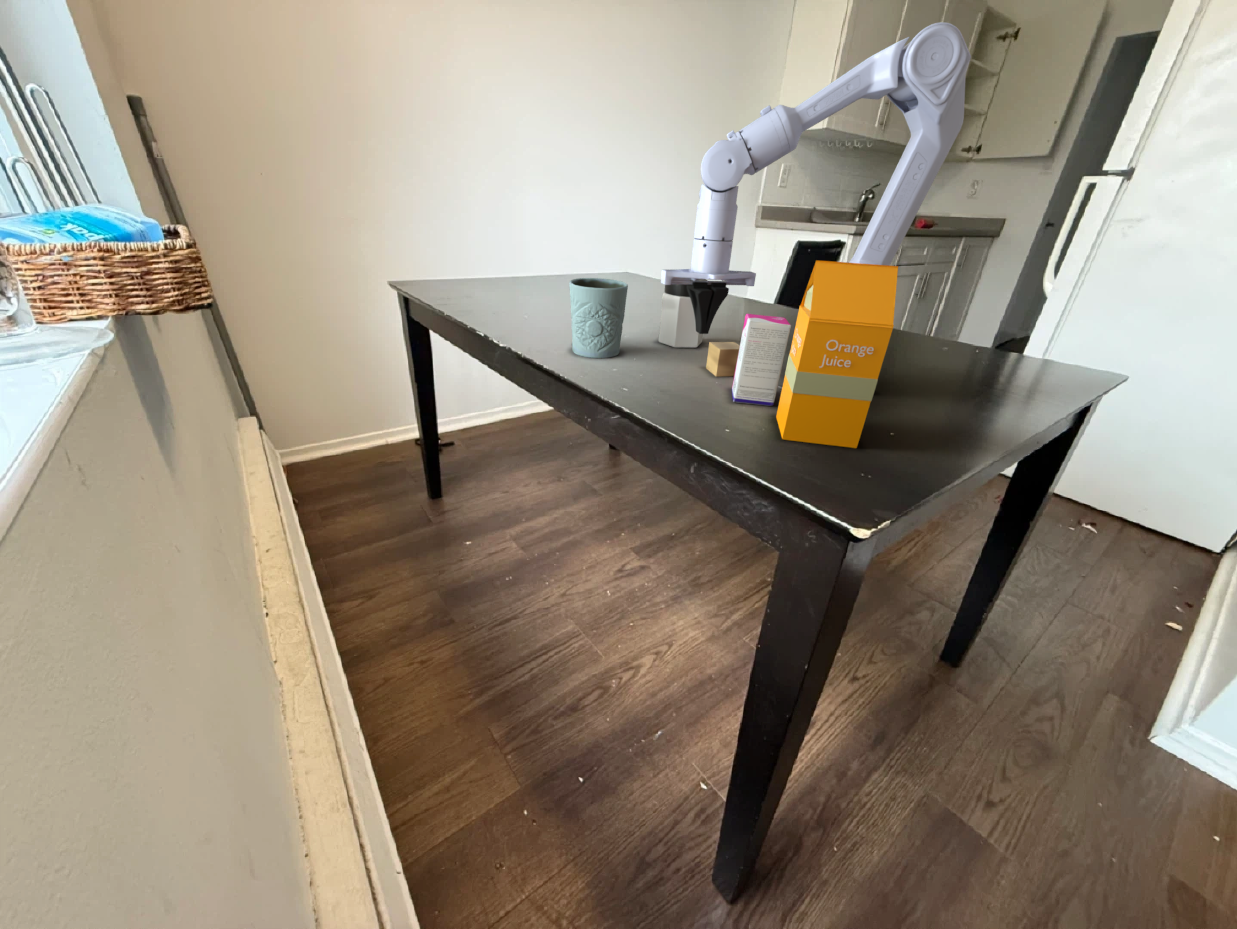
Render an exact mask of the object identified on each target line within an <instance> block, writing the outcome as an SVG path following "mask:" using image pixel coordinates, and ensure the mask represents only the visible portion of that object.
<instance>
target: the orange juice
mask: <svg viewBox="0 0 1237 929" xmlns="http://www.w3.org/2000/svg"><path fill="white" fill-rule="evenodd" d="M898 273H899V265H890V266H889V265H875V264H861V263H849V262H844V261H831V260H817V259H816V260H815V263H814V265H813V268H812V272H811V273H810V277H809V280H808V283H807V285H806V288H805V290H804V294H803V297H802V300H801V303H800V305H799V308H798V312H797V317H796V321H795V327H794V331H793V336H792V340H791V346H790V350H789V354H788V357H787V362H786V367H785V372H784V378H783V383H782V388H781V392H780V396H779V401H778V406H777V411H776V415H775V418H776V421H777V424H778V429H779V433H780V437H781V440H785V441H792V442H801V443H802V442H803V443H808V444H809V443H810V444H816V445H817V444H818V445H827V446H835V447H844V448H851V449H857V448H858V446H859V441H860V439H861V435H862V432H863V429H864V425H865V422H866V420H867V419H866V418H867V415H868V412H869V408H870V406H871V402H872V400H873V397H874V394H875V391H876V388H877V385H878V381H879V376H880V373H881V369H882V366H883V362H884V359H885V356H886V352H887V350H888V346H889V344H890V340H891V338H892V337H891V336H892V333H893V330H894V327H895V325H894V319H895V309H896V298H897V297H896V296H897V285H898Z"/></svg>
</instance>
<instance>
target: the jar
mask: <svg viewBox="0 0 1237 929" xmlns="http://www.w3.org/2000/svg"><path fill="white" fill-rule="evenodd" d="M692 281H693V280H692ZM697 281H709V280H708V279H699V280H697ZM661 296H662V298H661V307H660V319H659V320H660V321H659V329H658V330H659V331H658V343H660V344H663V345H666V346H668V347H672V348H676V349H677V348H679V349H680V348H682V349H683V348H684V349H685V348H686V349H689V348H692V349H693V348H694V349H696V348H698V347H699V346H700V345H701V344H702V342H703V337H704V334H699V333H698V332H696V324H695V315H694V310H693V306H692V302H691V299H690V296H689V293H688V291H687V284H671V285H664V291H663V293H662V295H661Z"/></svg>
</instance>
